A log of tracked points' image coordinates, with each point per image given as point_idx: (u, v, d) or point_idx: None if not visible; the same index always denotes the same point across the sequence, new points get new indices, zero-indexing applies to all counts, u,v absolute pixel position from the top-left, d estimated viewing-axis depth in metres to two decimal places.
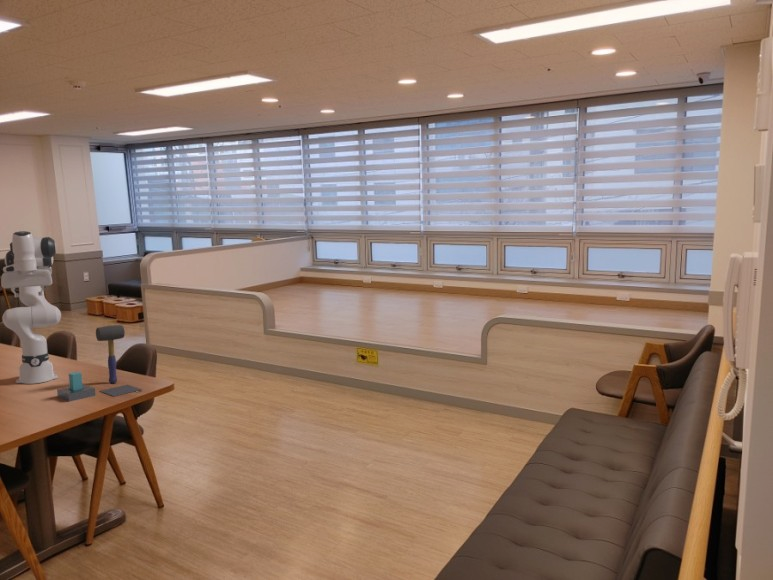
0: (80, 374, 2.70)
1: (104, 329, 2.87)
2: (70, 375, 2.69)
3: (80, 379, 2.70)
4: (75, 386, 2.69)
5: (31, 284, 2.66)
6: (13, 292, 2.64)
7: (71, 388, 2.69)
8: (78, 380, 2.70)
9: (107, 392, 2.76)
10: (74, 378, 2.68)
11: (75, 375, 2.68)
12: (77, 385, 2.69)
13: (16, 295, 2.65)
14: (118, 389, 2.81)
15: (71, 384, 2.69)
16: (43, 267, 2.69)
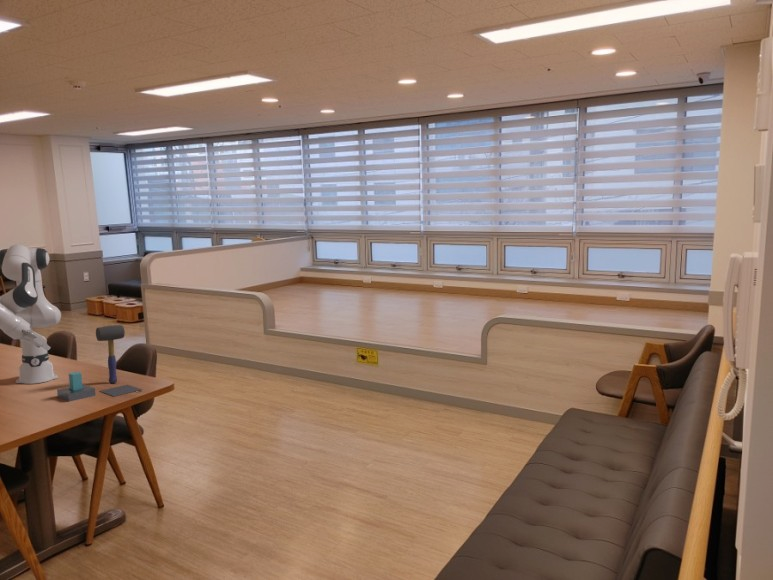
0: (80, 374, 2.70)
1: (104, 329, 2.87)
2: (70, 375, 2.69)
3: (80, 379, 2.70)
4: (75, 386, 2.69)
5: (32, 343, 2.53)
6: None
7: (71, 388, 2.69)
8: (78, 380, 2.70)
9: (107, 392, 2.76)
10: (74, 378, 2.68)
11: (75, 375, 2.68)
12: (77, 385, 2.69)
13: (37, 346, 2.61)
14: (118, 389, 2.81)
15: (71, 384, 2.69)
16: (25, 332, 2.46)
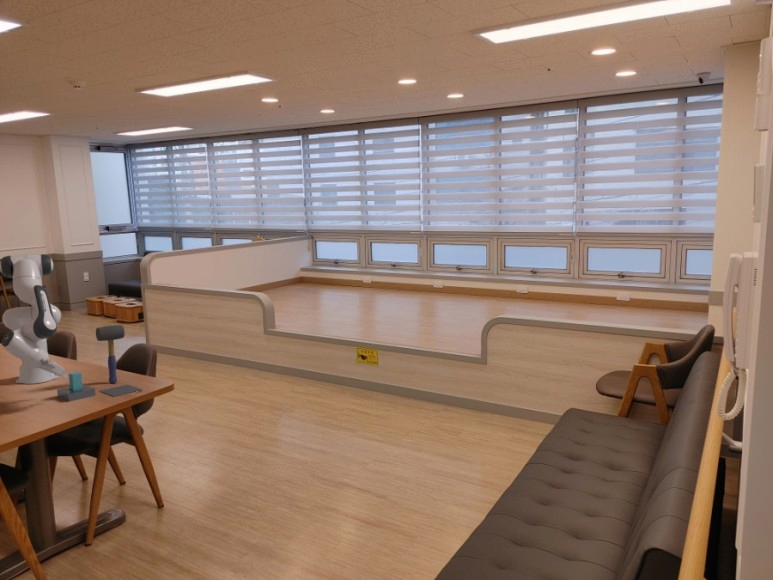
0: (80, 374, 2.70)
1: (104, 329, 2.87)
2: (70, 375, 2.69)
3: (80, 379, 2.70)
4: (75, 386, 2.69)
5: (50, 372, 2.60)
6: None
7: (71, 388, 2.69)
8: (78, 380, 2.70)
9: (107, 392, 2.76)
10: (74, 378, 2.68)
11: (75, 375, 2.68)
12: (77, 385, 2.69)
13: (54, 374, 2.67)
14: (118, 389, 2.81)
15: (71, 384, 2.69)
16: None
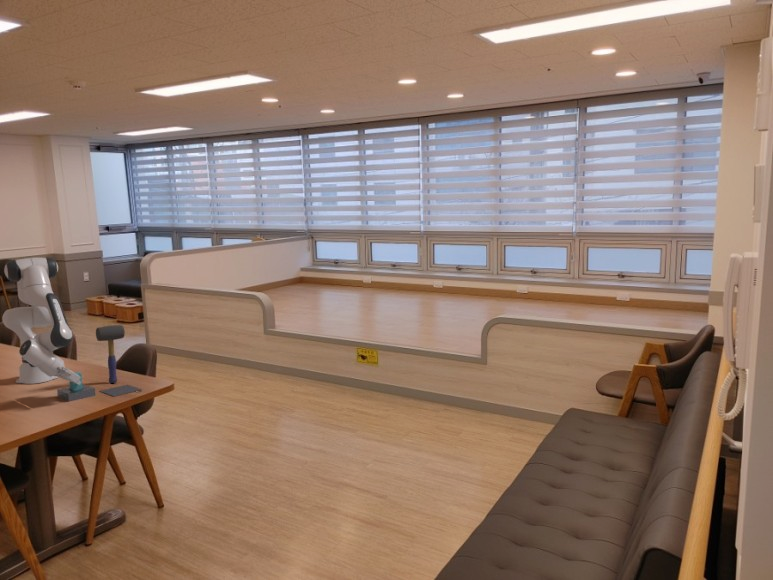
0: (80, 374, 2.70)
1: (104, 329, 2.87)
2: None
3: (80, 379, 2.70)
4: (75, 386, 2.69)
5: (66, 379, 2.66)
6: None
7: (71, 388, 2.69)
8: None
9: (107, 392, 2.76)
10: None
11: None
12: (77, 385, 2.69)
13: None
14: (118, 389, 2.81)
15: (71, 384, 2.69)
16: (60, 370, 2.58)
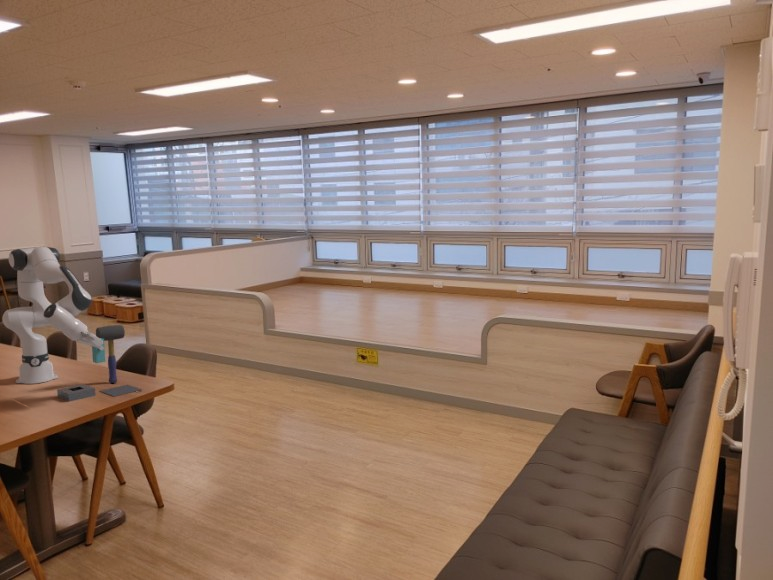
0: (103, 340, 2.73)
1: (104, 329, 2.87)
2: None
3: (103, 345, 2.73)
4: (98, 352, 2.71)
5: (89, 344, 2.68)
6: None
7: (94, 354, 2.72)
8: None
9: (107, 392, 2.76)
10: None
11: None
12: (100, 350, 2.72)
13: None
14: (118, 389, 2.81)
15: (94, 350, 2.72)
16: (84, 334, 2.61)
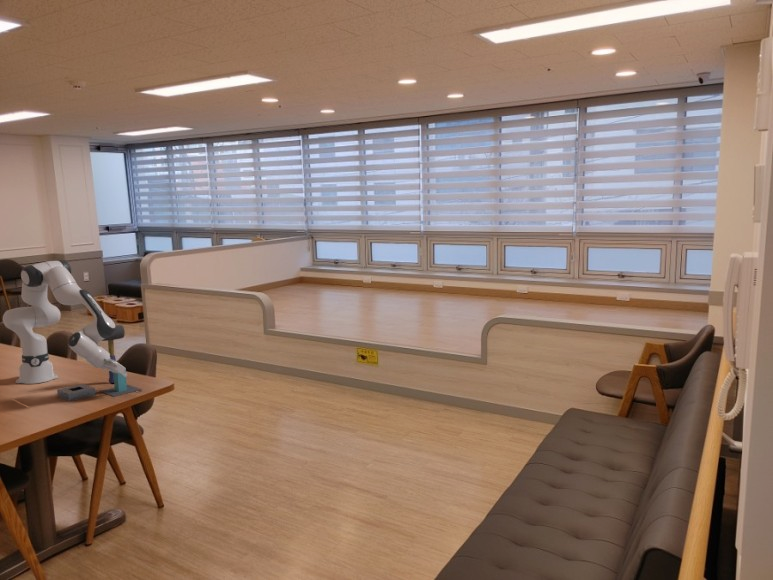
0: None
1: None
2: None
3: None
4: (120, 380, 2.77)
5: (111, 371, 2.74)
6: None
7: (116, 382, 2.78)
8: None
9: (107, 392, 2.76)
10: None
11: None
12: (121, 379, 2.78)
13: None
14: None
15: (116, 378, 2.78)
16: (107, 361, 2.67)
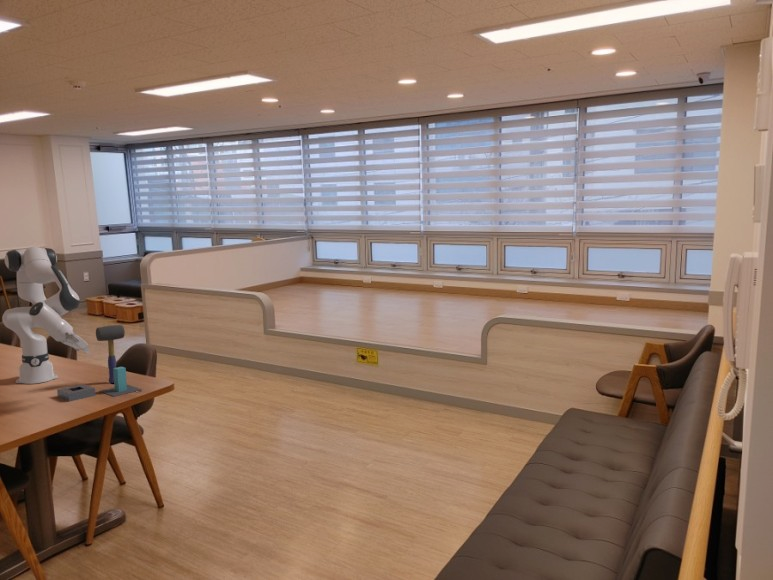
0: (124, 369, 2.79)
1: (104, 329, 2.87)
2: (115, 370, 2.77)
3: (124, 374, 2.79)
4: (120, 380, 2.77)
5: (73, 346, 2.62)
6: (73, 347, 2.69)
7: (116, 382, 2.78)
8: (123, 374, 2.78)
9: (107, 392, 2.76)
10: (119, 373, 2.77)
11: (120, 370, 2.77)
12: (121, 379, 2.78)
13: (76, 349, 2.69)
14: None
15: (116, 378, 2.78)
16: (69, 335, 2.55)
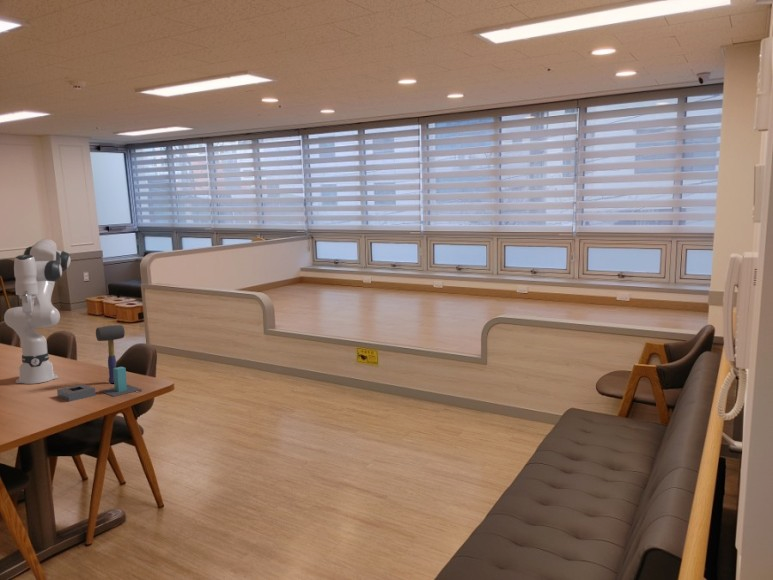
0: (124, 369, 2.79)
1: (104, 329, 2.87)
2: (115, 370, 2.77)
3: (124, 374, 2.79)
4: (120, 380, 2.77)
5: None
6: None
7: (116, 382, 2.78)
8: (123, 374, 2.78)
9: (107, 392, 2.76)
10: (119, 373, 2.77)
11: (120, 370, 2.77)
12: (121, 379, 2.78)
13: None
14: None
15: (116, 378, 2.78)
16: None
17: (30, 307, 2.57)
